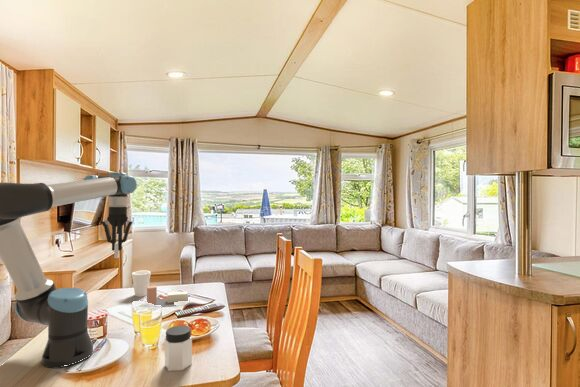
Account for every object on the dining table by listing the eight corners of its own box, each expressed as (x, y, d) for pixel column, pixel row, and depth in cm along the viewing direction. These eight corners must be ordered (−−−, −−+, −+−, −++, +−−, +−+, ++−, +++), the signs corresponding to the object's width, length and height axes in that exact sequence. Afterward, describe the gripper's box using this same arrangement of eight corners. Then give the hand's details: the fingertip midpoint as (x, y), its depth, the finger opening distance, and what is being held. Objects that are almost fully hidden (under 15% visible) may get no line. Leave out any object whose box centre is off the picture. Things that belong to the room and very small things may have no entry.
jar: (194, 358, 119) (194, 324, 119) (189, 370, 111) (189, 334, 111) (168, 359, 118) (168, 325, 118) (161, 371, 110) (161, 335, 110)
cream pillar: (167, 302, 173) (187, 301, 175) (167, 295, 173) (187, 293, 175) (167, 300, 177) (187, 298, 179) (168, 292, 177) (187, 291, 179)
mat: (189, 306, 170) (189, 305, 170) (142, 310, 164) (142, 308, 164) (189, 296, 185) (189, 295, 185) (147, 299, 180) (147, 298, 179)
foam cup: (128, 296, 184) (128, 272, 184) (144, 292, 192) (144, 269, 191) (137, 299, 179) (137, 275, 178) (153, 295, 186) (153, 272, 186)
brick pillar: (156, 307, 166) (156, 287, 166) (147, 308, 164) (147, 288, 164) (155, 304, 170) (155, 285, 170) (146, 306, 168) (146, 286, 168)
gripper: (134, 206, 159) (133, 255, 158) (104, 205, 155) (103, 256, 155) (131, 206, 151) (130, 258, 151) (99, 206, 148) (98, 259, 148)
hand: (116, 257), depth 153 cm, fingers closed
